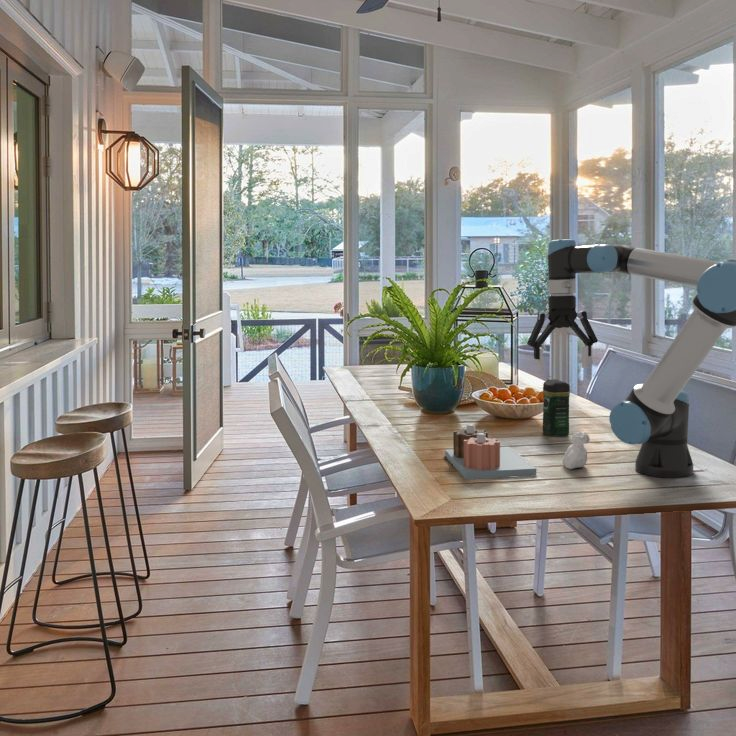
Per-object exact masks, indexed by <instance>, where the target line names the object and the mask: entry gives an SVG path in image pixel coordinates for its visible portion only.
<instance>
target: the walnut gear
mask: <svg viewBox="0 0 736 736" xmlns="http://www.w3.org/2000/svg"><path fill="white" fill-rule="evenodd" d="M452 433H453V449H454V455H455V457H457V458H464V440H469V438H477V434H478V433H484V434H486V438H489V432H488V431H487V430H486V429H476V428H475V433H471V434H469V433H467V428H459V429H458V430H453V432H452Z"/></svg>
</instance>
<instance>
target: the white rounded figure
mask: <svg viewBox="0 0 736 736" xmlns="http://www.w3.org/2000/svg"><path fill="white" fill-rule="evenodd" d="M590 438H591V437H590V436H589V434H588V433H587V432H582V431H581V430H579V431H577V432H576V433H574V434H573V435H571V443H572V444H570V445H569V446H568V447H567V449H566V451H565V453H564V455H563V458H562V460H561V461H562V464H563V466H564V467H565V468H566V469H569V470H573V469H578V468H583V467H584V466H586V463H587V462H588V450H587V449H586V448H585V446H584V445H585V444H589V443H590V441H591V440H590Z"/></svg>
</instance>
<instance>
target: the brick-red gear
mask: <svg viewBox="0 0 736 736" xmlns="http://www.w3.org/2000/svg"><path fill="white" fill-rule="evenodd" d="M500 447H501V441H498V438H489V437H488V438H486V443H478V442H477V438H469V440H464V465H466V468H468V469H470V468H474V469H477V470H482V469H490V470H492V469H495V467H500Z"/></svg>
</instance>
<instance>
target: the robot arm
mask: <svg viewBox="0 0 736 736" xmlns="http://www.w3.org/2000/svg"><path fill="white" fill-rule="evenodd" d="M547 246H548V249H547V250H548V251H547V256H546V257H547V267H548V283H547V284H548V287H547V289H548V291H547V293H548V294H549V295H548V299H547V300H548V312H547V313H544V312H539V313H537V320H536V322H535V325H534V326H533V329H532V332H531V333H530V336H529V338H528V340H527V342H526V345H527V346H530V347H532V348H533V358H534V360H536V370H537V371H539V372H543V371H544V348H543V347H542V346H543V344H544V343H545V341H546V340H547V338H549V336H550V334H551V333H552V332H553V331H554V330H556V328H557V329H561V328H566V329H567V328H570V329H571V330H573V333H575V335H576V336H577V337H578V338H579V339H580V340H581V341H582V343H583V345H581V368H582V369H589V357H591V356H592V346H593V344H596V343H598V338H597V336H596V334H595V332H594V329H593V328H592V325H591V323H590V322H589V319H588V312H587V311H586V310H579V311H577V310H576V308H577V307H576V306H577V304H576V303H577V297H576V295H575V293H576V291H577V290H576V289H577V288H576V286H577V285H576V284H577V283H576V278H577V277H576V275H577V274H603V273H615V272H616V273H622V274H625V275H632V276H638V277H643V278H648V279H652V280H658V281H662V282H667V283H673V284H677V285H682V286H685V287H691V288H696V291H697V293H696V294H695V296H694V298H693V299H692V301H691V303H692V306H693V311H692V312H691V314H690V315H689V317H688V318H687V320H686V321H685V323H684V324H683V325H682V327H681V329H680V330H679V331H678V333H677V334H676V336H675V337H674V339H672V341H671V343H670V344H669V346H668V347H667V349H666V350H665V352H664V353H663V355H662V356H661V358H660V359H659V361H658V363H657V364H656V365H655V367H654V368H653V369H652V371H651V372H650V374H649V375H648V377H647V379H646V380H645V381H644V383H638V384H635V385H634V387H633V388H632V389H631V391H630V393H629V394H628V395H627V396H626V399H624V400H621V401H619V402H617V403H615V405H613V407H612V408H611V411H610V412H609V424H610V428H611V431H612V433H613V434H614V435H615V436H616V438H617V439H618V440H619V441H621V442H623V443H624V444H627V445H641V446H640V448H639V450H638V454H637V456H636V459H635V465H634V466H635V468H634V469H635V470H636V471H637V472H638V473H641V474H644V475H647V476H652V477H658V478H671V479H672V478H685V477H688V476H689V477H690V476H691V475H693V474H694V463H693V460H692V459H693V458H692V456H691V453H690V450H689V446H688V437H689V436H688V435H689V411H690V401H689V400H690V396H689V394H688V393H687V391H684V390H683V389H684V388H685V386H686V385H687V384H688V382H689V381H690V379H691V378H692V377H693V375H694V374H695V373H696V371H697V370H698V368H700V366H701V364H702V363H703V362H704V360H705V359H706V358H707V356H708V354H710V352H711V351H712V349H713V348H714V346H715V345H716V343H717V342H718V341H719V339H720V337H721V336H722V335H723V334H724V332H725V331H726V329H730V328H735V327H736V260H735V259H728V260H726V261H715V260H710V259H705V258H698V257H694V256H688V255H684V254H683V255H681V254H677V253H671V252H664V251H660V250H659V251H658V250H652V249H647V248H641V247H634V246H633V245H630V244H624V243H622V244H605V243H598V244H597V243H596V244H588V245H577V244H576V241H575V239H553V240H550V241H549V242H548V245H547ZM577 318H578V319H579V321H580V323H581V325H582V327H583V329H584V331H585V333H584V331H583V330H582V329H581V328H580V327H579V324H577V322H576V321H575V320H576V319H577ZM547 319H548V320H549V322H548V323H547V325H546V327H545V328H544V330H543V331H542V332H541V330H542V328H543V326H544V324H545V322H546V321H547ZM540 333H541V334H540Z"/></svg>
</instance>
